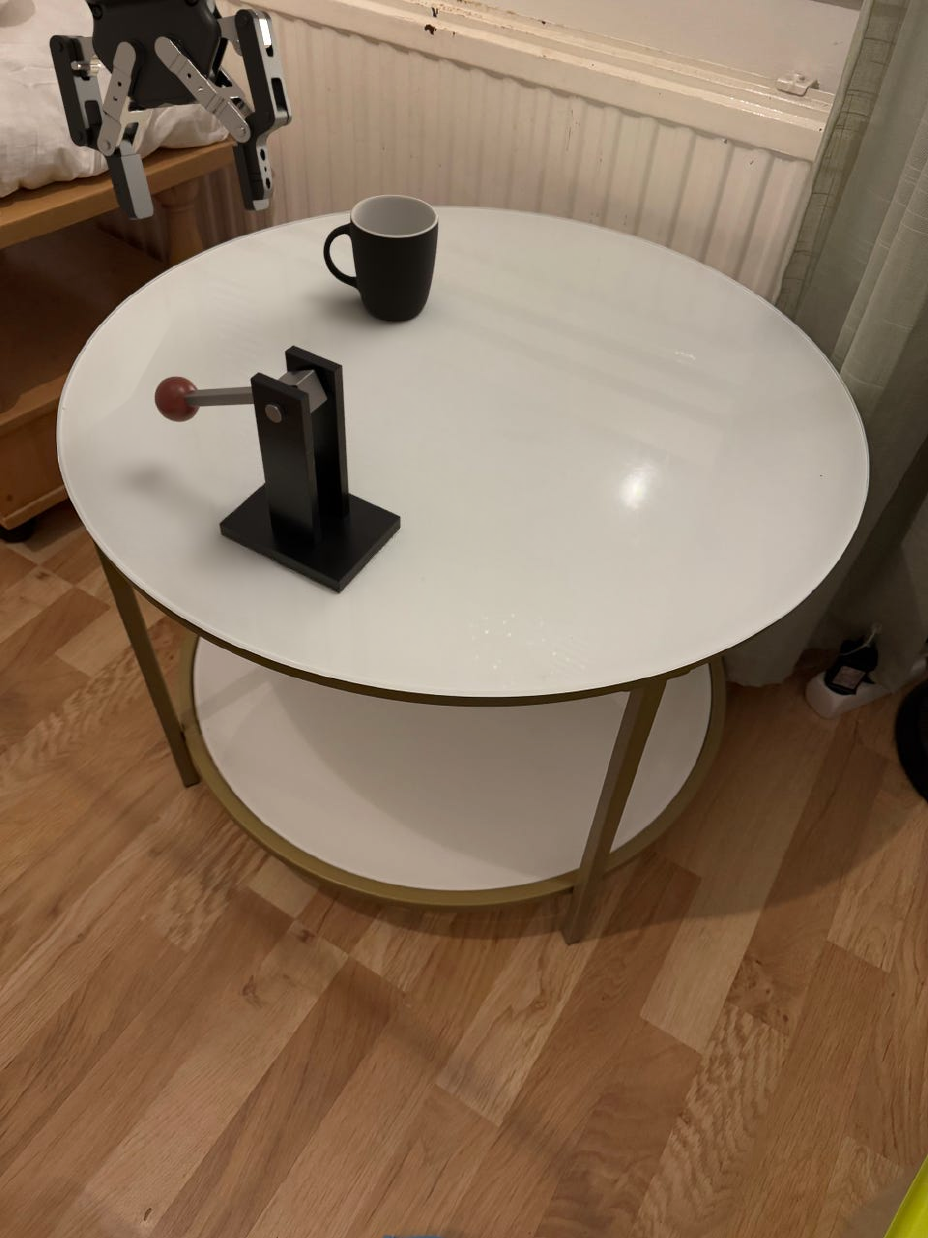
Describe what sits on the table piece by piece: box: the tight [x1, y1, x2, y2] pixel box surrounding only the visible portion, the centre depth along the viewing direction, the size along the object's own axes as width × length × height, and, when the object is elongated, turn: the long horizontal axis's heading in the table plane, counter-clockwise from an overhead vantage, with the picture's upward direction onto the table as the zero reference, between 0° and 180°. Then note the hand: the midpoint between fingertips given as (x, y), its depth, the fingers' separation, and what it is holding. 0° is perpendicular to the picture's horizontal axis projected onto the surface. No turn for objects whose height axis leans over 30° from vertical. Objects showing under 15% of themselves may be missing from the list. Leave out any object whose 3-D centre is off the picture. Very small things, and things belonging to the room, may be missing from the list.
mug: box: [322, 194, 439, 322], centre depth 95 cm, size 12×9×10 cm
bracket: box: [218, 345, 402, 594], centre depth 70 cm, size 12×9×16 cm
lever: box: [153, 370, 327, 423], centre depth 70 cm, size 17×4×4 cm, turn 60°
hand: (198, 213), depth 59 cm, fingers open, 8 cm apart
